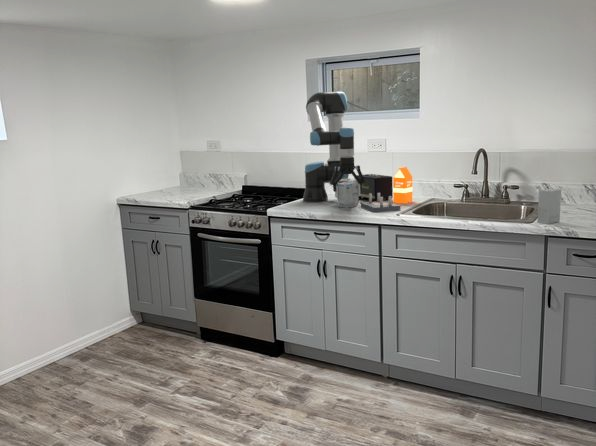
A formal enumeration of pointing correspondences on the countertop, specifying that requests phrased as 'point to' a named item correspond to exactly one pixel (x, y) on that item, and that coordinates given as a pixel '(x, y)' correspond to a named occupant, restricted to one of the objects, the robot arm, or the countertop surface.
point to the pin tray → (380, 209)
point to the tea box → (348, 203)
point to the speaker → (376, 186)
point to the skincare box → (549, 206)
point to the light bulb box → (347, 192)
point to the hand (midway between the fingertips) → (347, 196)
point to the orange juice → (402, 186)
